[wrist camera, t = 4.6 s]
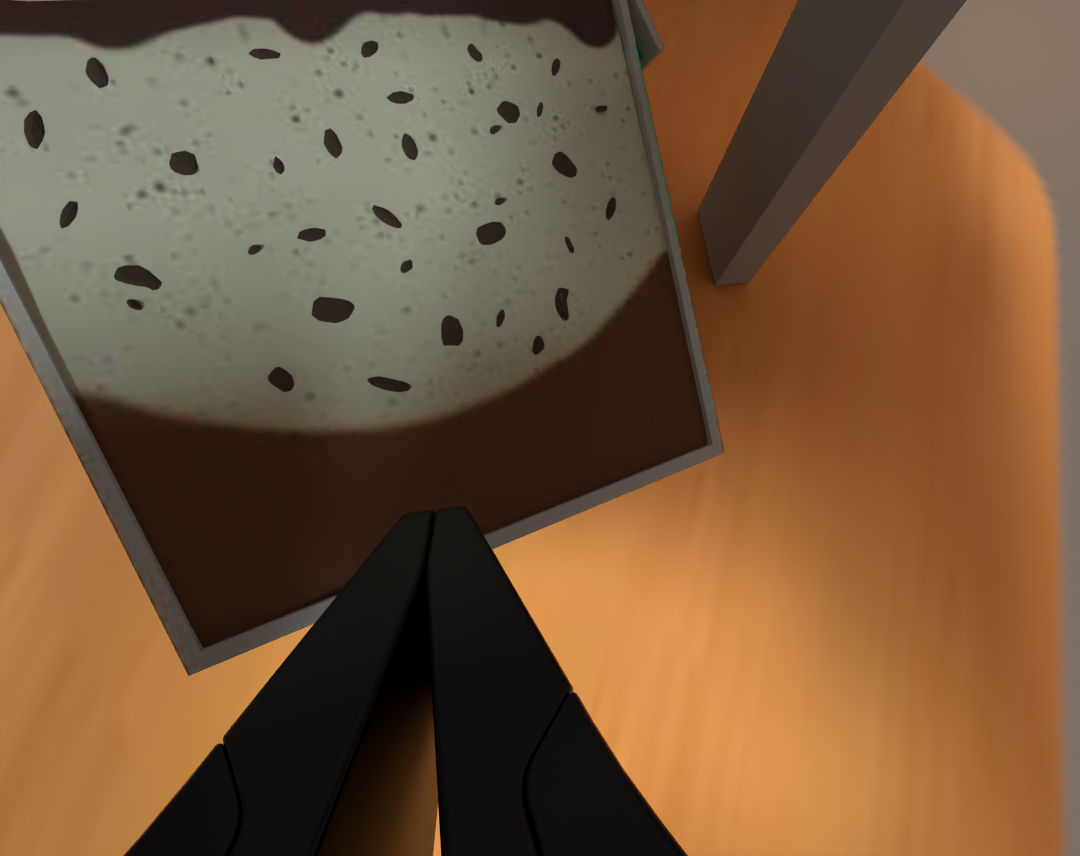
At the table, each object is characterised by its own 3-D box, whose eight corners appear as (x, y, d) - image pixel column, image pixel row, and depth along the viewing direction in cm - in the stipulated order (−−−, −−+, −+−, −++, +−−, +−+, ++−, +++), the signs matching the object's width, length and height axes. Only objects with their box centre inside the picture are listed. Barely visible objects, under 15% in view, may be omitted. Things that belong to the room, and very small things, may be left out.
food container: (624, 445, 17) (524, 126, 17) (779, 429, 11) (633, -55, 11) (170, 615, 12) (16, 178, 12) (51, 732, 7) (-250, -88, 6)
